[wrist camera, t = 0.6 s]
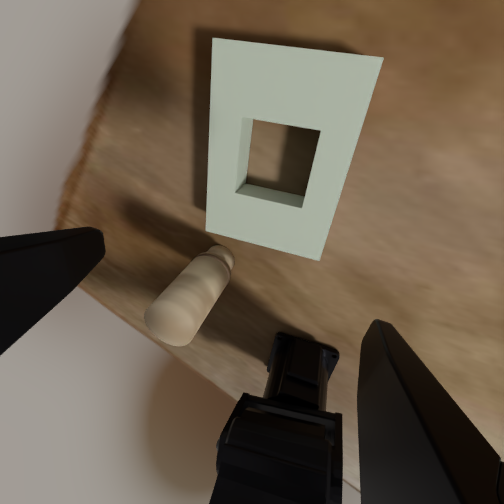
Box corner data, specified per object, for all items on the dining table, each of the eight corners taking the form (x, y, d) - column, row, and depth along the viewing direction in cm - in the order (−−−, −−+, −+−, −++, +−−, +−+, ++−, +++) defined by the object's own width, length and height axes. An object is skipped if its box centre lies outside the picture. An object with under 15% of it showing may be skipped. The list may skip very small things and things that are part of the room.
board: (321, 245, 21) (319, 260, 19) (218, 218, 23) (205, 230, 21) (378, 63, 15) (383, 57, 13) (229, 45, 16) (212, 37, 14)
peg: (237, 279, 26) (193, 353, 18) (202, 268, 26) (146, 336, 19) (241, 246, 24) (193, 315, 16) (203, 236, 24) (140, 297, 17)
